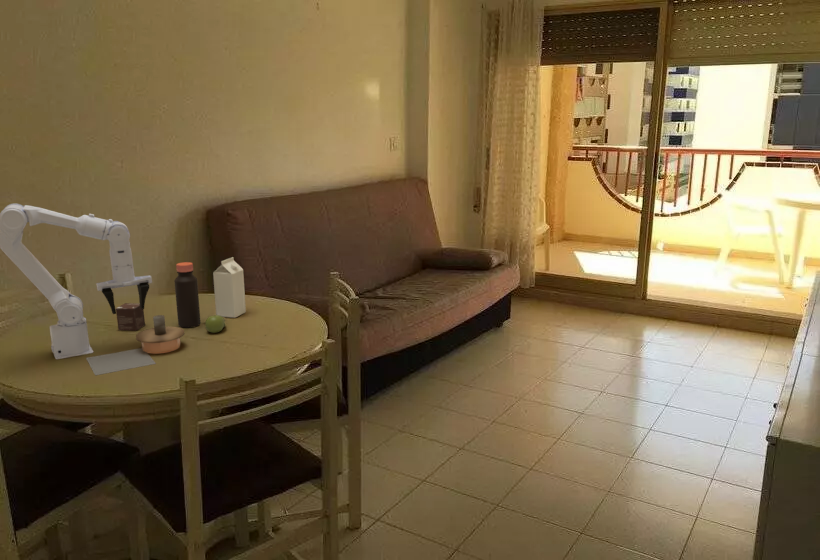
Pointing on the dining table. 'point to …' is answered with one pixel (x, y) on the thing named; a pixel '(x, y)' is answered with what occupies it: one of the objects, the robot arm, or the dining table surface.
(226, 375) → the dining table surface
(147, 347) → the bowl
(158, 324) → the lid
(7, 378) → the dining table surface
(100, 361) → the mat
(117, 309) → the box
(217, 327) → the pear
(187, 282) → the bottle
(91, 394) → the dining table surface
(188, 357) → the dining table surface
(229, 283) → the milk carton
